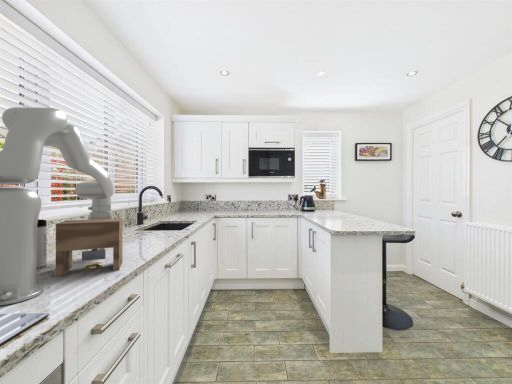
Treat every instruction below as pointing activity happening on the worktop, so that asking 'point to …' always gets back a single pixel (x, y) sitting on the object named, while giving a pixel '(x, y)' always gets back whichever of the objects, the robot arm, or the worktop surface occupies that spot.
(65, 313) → the worktop surface
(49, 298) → the worktop surface
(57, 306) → the worktop surface
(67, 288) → the worktop surface
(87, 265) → the puck
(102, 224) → the wooden step stool
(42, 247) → the travel mug
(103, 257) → the scraper
